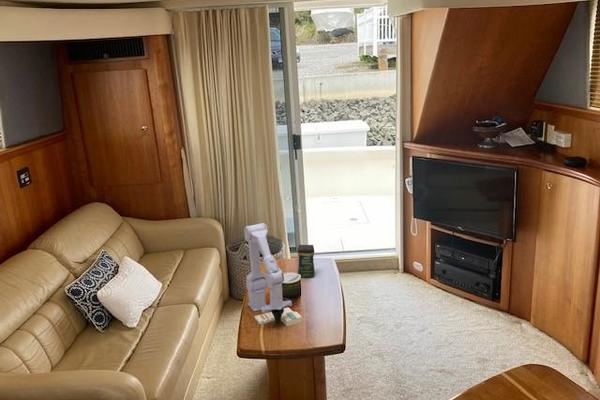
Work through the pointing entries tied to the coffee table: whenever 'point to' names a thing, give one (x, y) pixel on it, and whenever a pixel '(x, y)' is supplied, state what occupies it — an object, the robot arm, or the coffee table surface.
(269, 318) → the board
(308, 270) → the coffee jar
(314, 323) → the coffee table surface
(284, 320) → the white and teal box
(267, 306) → the robot arm
